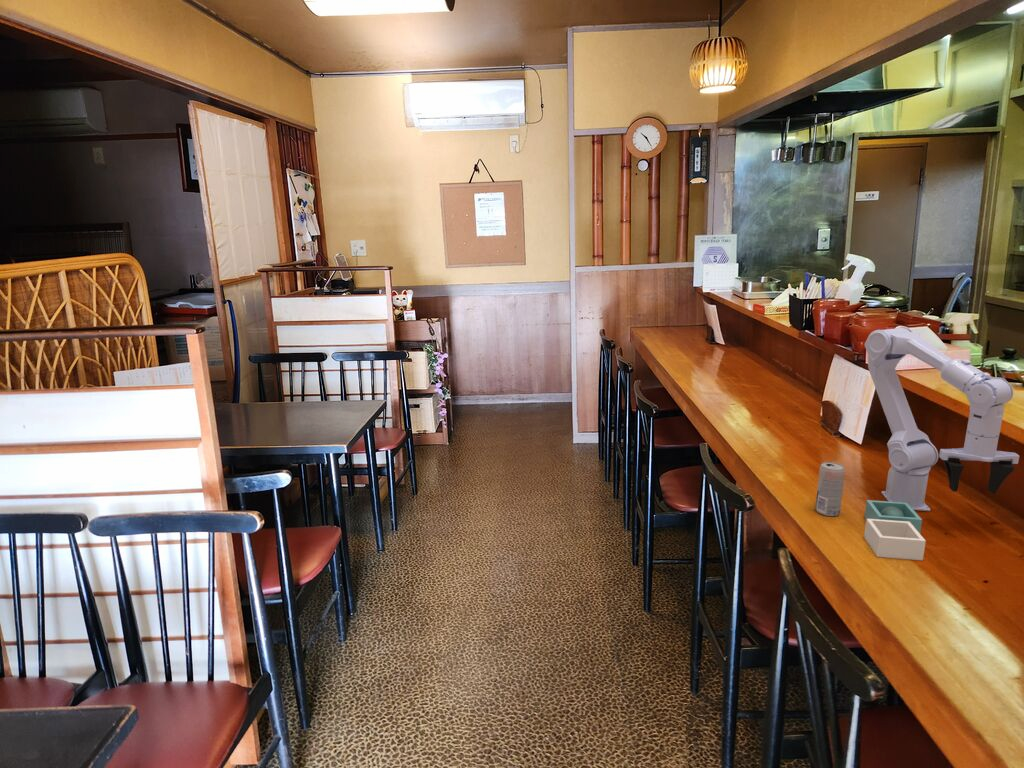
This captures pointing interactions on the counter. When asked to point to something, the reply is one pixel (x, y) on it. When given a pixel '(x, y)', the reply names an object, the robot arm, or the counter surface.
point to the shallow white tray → (894, 539)
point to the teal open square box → (877, 506)
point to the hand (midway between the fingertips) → (972, 490)
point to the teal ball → (892, 512)
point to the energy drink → (830, 489)
